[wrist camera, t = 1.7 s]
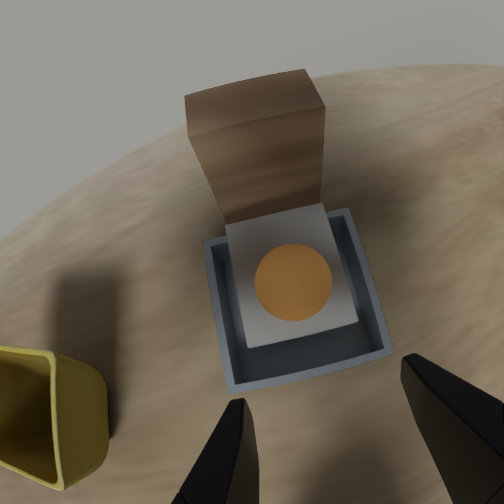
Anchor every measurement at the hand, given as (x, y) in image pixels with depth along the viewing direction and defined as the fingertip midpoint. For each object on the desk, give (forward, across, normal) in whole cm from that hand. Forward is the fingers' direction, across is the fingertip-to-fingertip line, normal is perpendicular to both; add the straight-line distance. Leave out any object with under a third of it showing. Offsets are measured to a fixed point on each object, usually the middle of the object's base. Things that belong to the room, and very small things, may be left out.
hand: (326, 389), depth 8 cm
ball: (+8, 0, +1) cm, 9 cm away
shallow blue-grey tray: (+13, 0, +6) cm, 15 cm away
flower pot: (+10, +18, +10) cm, 23 cm away
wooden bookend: (+15, 0, +4) cm, 16 cm away
